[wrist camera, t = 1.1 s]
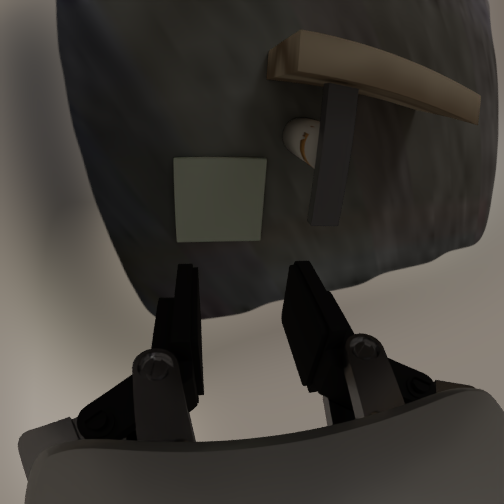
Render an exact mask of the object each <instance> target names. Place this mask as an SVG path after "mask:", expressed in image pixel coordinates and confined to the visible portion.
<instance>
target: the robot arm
mask: <svg viewBox="0 0 504 504" xmlns="http://www.w3.org/2000/svg"><path fill="white" fill-rule="evenodd" d="M282 324H283V327H284V330H285V333H286V336H287V339H288V342H289V345H290V349H291V352H292V354H293V358H294V361H295V364H296V367H297V370H298V373H299V376H300V379H301V382H302V385H303V386H307V388H308V391H309V392H310V393H311V392H317V391H318V393H319V394H321V395H323V402H324V408H325V414H326V419H327V425H328V426H326V427H322V428H317V429H312V430H307V431H301V432H296V433H289V434H283V435H276V436H268V437H260V438H251V439H242V440H228V441H210V442H196V440H195V436H194V432H193V427H192V423H191V418H190V414H189V412H190V411H192V410H193V409H194V408H195V407H196V406H197V403H199V397H198V395H204V384H203V366H202V365H203V363H202V336H201V313H200V297H199V278H198V267H194V268H193V265H192V264H178V270H177V279H176V288H175V298H159V301H158V306H157V313H156V319H155V326H154V333H153V341H152V348H151V349H149V350H146V351H144V352H142V353H140V354H139V355H138V356H137V357H136V358H135V360H134V362H133V367H132V375H131V376H129V377H128V378H126V379H125V380H124V381H122V382H121V383H119V384H118V385H116V386H115V387H114V388H112V389H111V390H109V391H108V392H106V393H105V394H103V395H102V396H100V397H99V398H97V399H96V400H94V401H93V402H91V403H90V404H88V405H87V406H86V407H84V408H83V409H82V410H81V411H80V413H79V415H78V417H76V418H74V419H71V418H70V417H68V418H65V419H62V420H59V421H57V422H53V423H50V424H48V425H45V426H42V427H39V428H35V429H32V430H29V431H27V432H25V433H23V434H22V436H21V437H20V438H19V442H18V450H19V454H20V457H21V461H22V464H23V467H24V471H25V474H26V477H27V480H28V484H27V489H26V495H25V504H504V411H503V410H502V408H501V407H500V406H499V404H498V403H497V402H496V400H495V399H494V398H493V397H492V396H491V395H490V394H489V393H487V392H486V391H484V390H481V389H476V388H474V387H473V386H469V385H463V384H457V383H451V382H445V381H440V380H435V382H433V381H432V379H431V378H430V377H429V376H427V375H425V374H424V373H422V372H419V371H417V370H415V369H412V368H410V367H408V366H405V365H403V364H401V363H398V362H396V361H394V360H392V359H389V358H387V355H386V353H385V350H384V348H383V346H382V344H381V343H380V342H379V341H378V340H377V339H376V338H374V337H373V336H370V335H367V334H360V333H359V334H354V333H353V331H352V329H351V327H350V325H349V323H348V322H347V320H346V318H345V316H344V314H343V313H342V311H341V309H340V307H339V306H338V304H337V302H336V300H335V299H334V297H333V295H332V294H331V292H329V291H326V289H325V287H324V286H323V284H322V282H321V280H320V279H319V277H318V275H317V273H316V272H315V270H314V268H313V266H312V265H311V263H310V262H309V261H295V262H294V265H290V267H289V273H288V279H287V285H286V291H285V297H284V303H283V309H282Z"/></svg>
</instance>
